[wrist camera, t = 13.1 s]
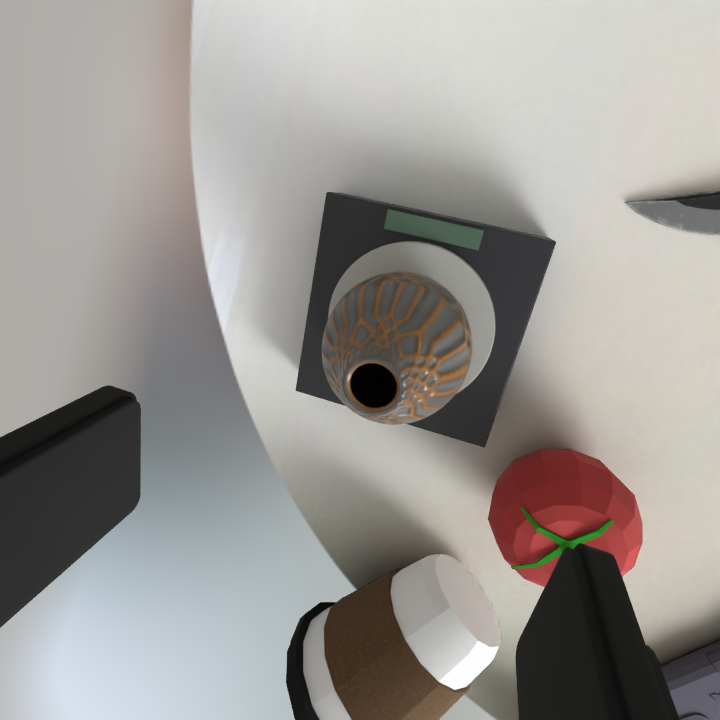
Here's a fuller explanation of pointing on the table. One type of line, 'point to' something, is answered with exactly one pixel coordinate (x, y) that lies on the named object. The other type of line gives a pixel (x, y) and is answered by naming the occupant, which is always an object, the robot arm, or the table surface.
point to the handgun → (696, 683)
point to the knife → (683, 212)
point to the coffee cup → (393, 646)
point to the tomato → (562, 512)
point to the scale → (449, 268)
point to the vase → (397, 347)
